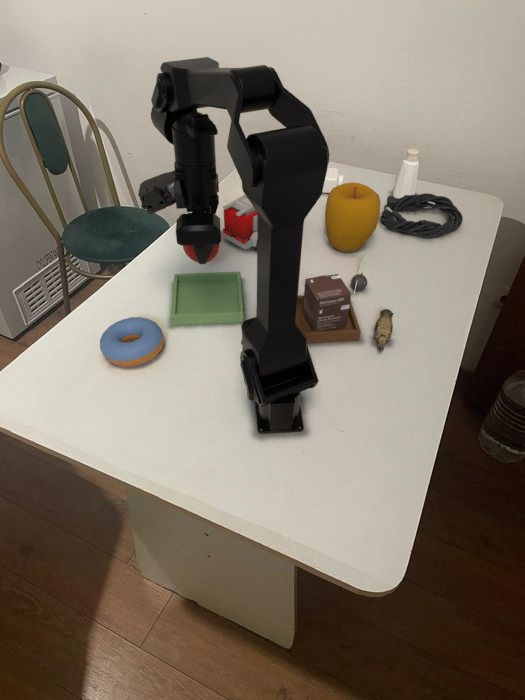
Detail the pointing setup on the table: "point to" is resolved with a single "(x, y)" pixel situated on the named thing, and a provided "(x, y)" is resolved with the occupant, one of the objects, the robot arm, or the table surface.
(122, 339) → the doughnut
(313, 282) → the box
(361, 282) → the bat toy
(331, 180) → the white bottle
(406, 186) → the pepper shaker
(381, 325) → the cat figurine
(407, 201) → the cable
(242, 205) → the toy fire truck
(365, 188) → the apple
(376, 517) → the table surface
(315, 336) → the walnut tray
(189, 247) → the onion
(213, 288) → the produce tray
